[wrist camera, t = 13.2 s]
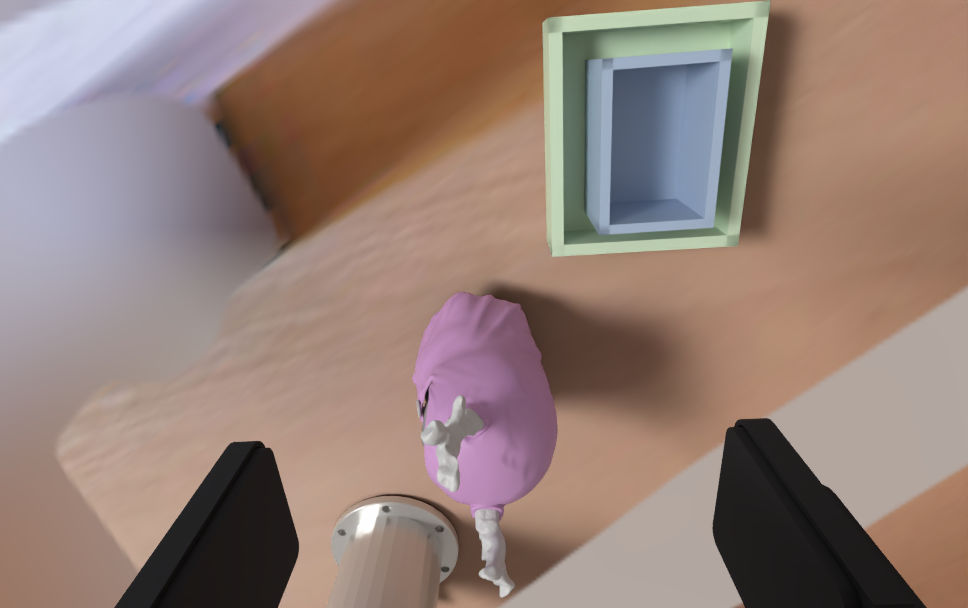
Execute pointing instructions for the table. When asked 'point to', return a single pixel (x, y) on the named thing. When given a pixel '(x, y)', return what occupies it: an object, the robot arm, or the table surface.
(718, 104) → the small crate
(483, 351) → the toy character
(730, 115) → the green tray
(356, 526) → the robot arm
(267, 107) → the table surface
